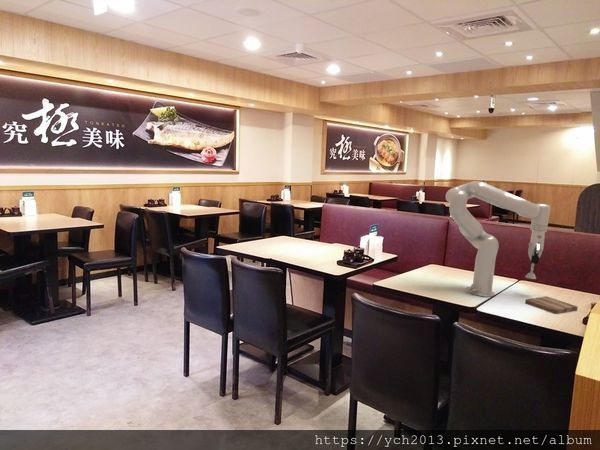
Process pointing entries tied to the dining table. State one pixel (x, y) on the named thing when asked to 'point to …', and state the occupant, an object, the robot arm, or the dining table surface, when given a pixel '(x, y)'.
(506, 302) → the dining table surface
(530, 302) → the serving board
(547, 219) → the robot arm
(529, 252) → the chalice
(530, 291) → the dining table surface
